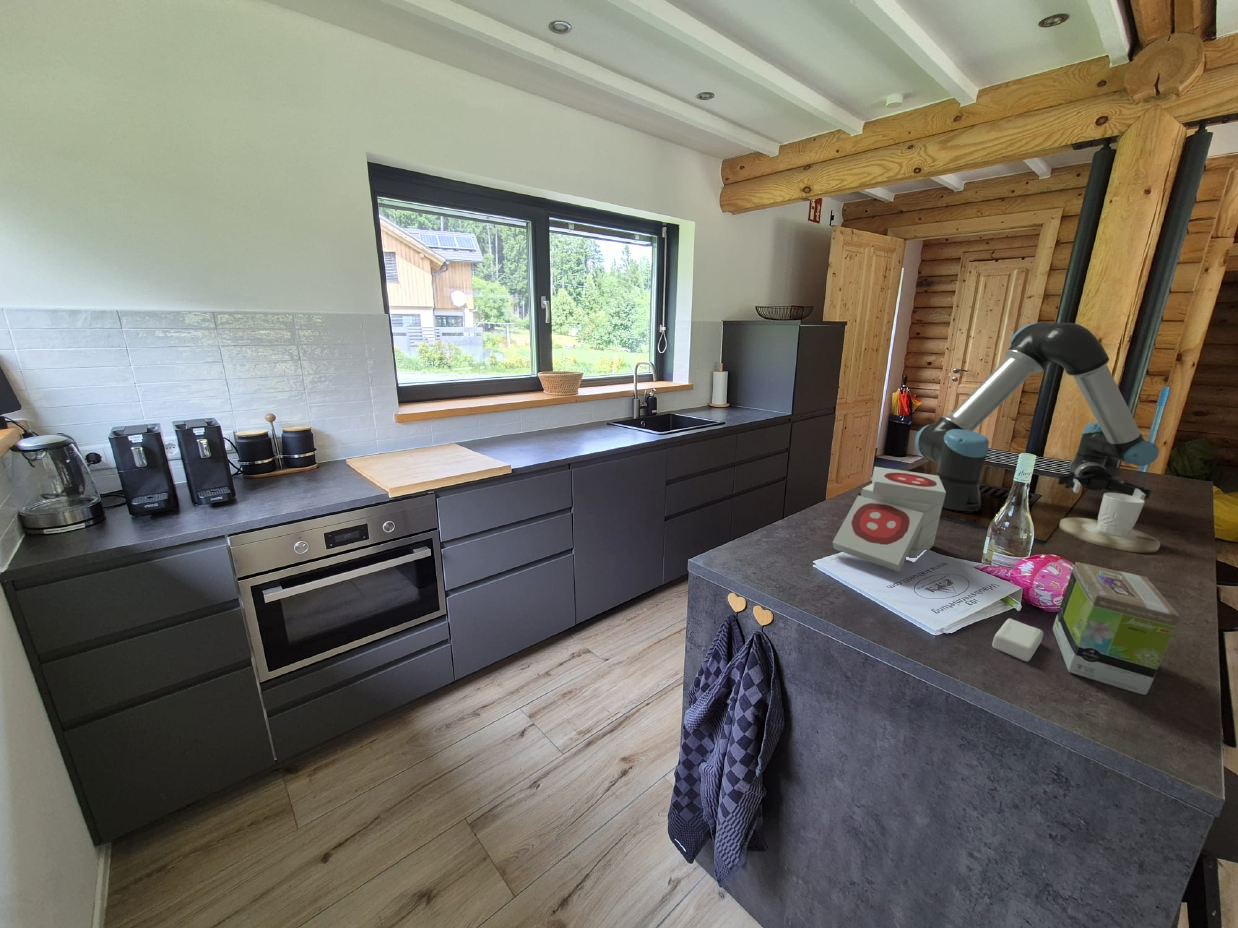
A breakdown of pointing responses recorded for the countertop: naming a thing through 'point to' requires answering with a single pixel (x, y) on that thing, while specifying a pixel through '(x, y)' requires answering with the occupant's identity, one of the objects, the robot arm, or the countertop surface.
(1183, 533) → the countertop surface
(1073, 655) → the tea box
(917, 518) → the pizza boxes
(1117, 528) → the white cup
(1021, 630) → the soap
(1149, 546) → the turntable platter
